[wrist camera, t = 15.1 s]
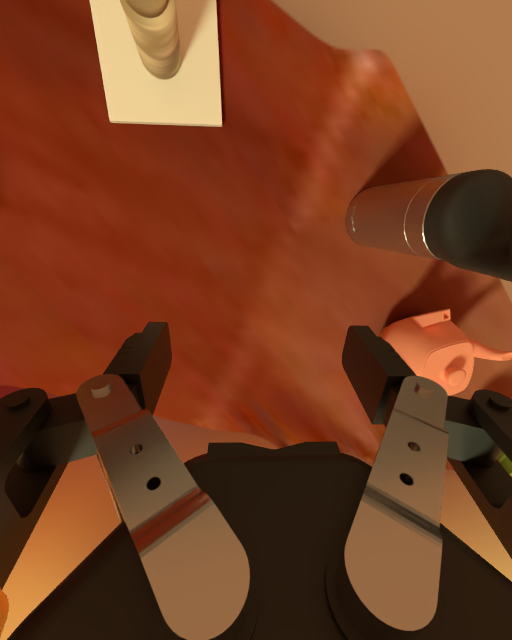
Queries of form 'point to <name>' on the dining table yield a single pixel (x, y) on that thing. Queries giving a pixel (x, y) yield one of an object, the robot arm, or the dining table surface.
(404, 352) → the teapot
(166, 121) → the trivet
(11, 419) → the robot arm
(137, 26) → the pepper mill
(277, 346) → the dining table surface
